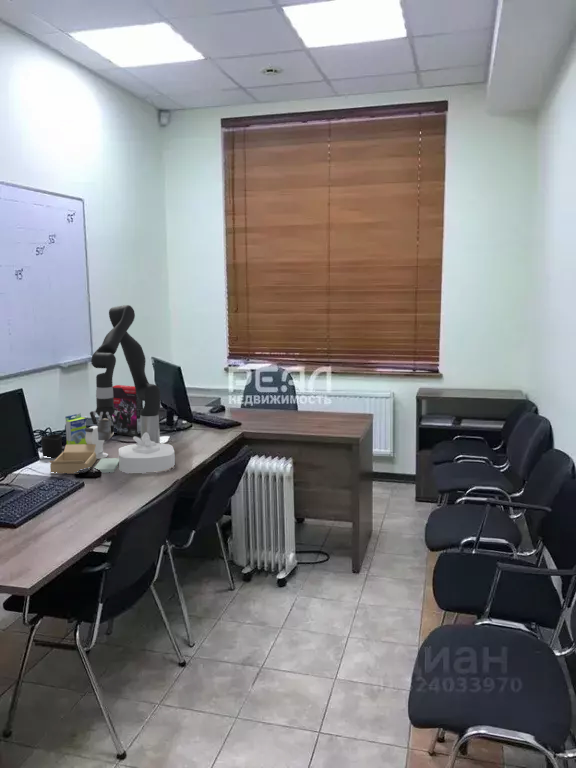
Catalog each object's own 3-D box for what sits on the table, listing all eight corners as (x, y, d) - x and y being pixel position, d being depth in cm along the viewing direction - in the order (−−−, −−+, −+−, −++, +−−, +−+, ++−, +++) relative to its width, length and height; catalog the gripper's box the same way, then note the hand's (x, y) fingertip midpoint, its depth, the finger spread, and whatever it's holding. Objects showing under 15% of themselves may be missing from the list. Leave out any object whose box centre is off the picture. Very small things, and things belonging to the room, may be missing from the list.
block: (114, 433, 295) (113, 416, 294) (108, 440, 282) (108, 422, 281) (104, 433, 295) (103, 416, 293) (98, 440, 282) (97, 422, 281)
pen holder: (60, 458, 303) (59, 438, 301) (40, 459, 301) (39, 439, 299) (64, 453, 312) (63, 433, 310) (44, 454, 310) (43, 434, 309)
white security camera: (94, 451, 316) (93, 422, 313) (113, 454, 312) (112, 424, 309) (79, 457, 305) (77, 427, 302) (98, 460, 301) (97, 429, 298)
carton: (98, 458, 303) (98, 444, 302) (84, 476, 276) (84, 460, 275) (64, 458, 302) (63, 444, 301) (47, 476, 274) (46, 460, 273)
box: (71, 451, 316) (70, 417, 314) (65, 450, 318) (64, 416, 316) (87, 446, 325) (86, 413, 323) (82, 445, 327) (80, 412, 325)
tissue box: (119, 475, 278) (118, 440, 276) (118, 460, 302) (117, 427, 300) (176, 471, 285) (175, 437, 282) (171, 456, 309) (170, 424, 306)
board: (120, 461, 299) (120, 458, 299) (113, 472, 282) (113, 469, 282) (101, 461, 299) (101, 458, 298) (93, 472, 281) (93, 469, 281)
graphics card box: (111, 434, 352) (110, 386, 348) (119, 431, 358) (117, 384, 354) (137, 437, 346) (135, 388, 341) (144, 434, 352) (143, 386, 348)
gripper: (122, 395, 289) (123, 431, 292) (90, 395, 288) (92, 431, 291) (119, 398, 282) (120, 435, 285) (86, 398, 281) (88, 435, 284)
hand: (106, 433), depth 288 cm, fingers closed on block, 4 cm apart
